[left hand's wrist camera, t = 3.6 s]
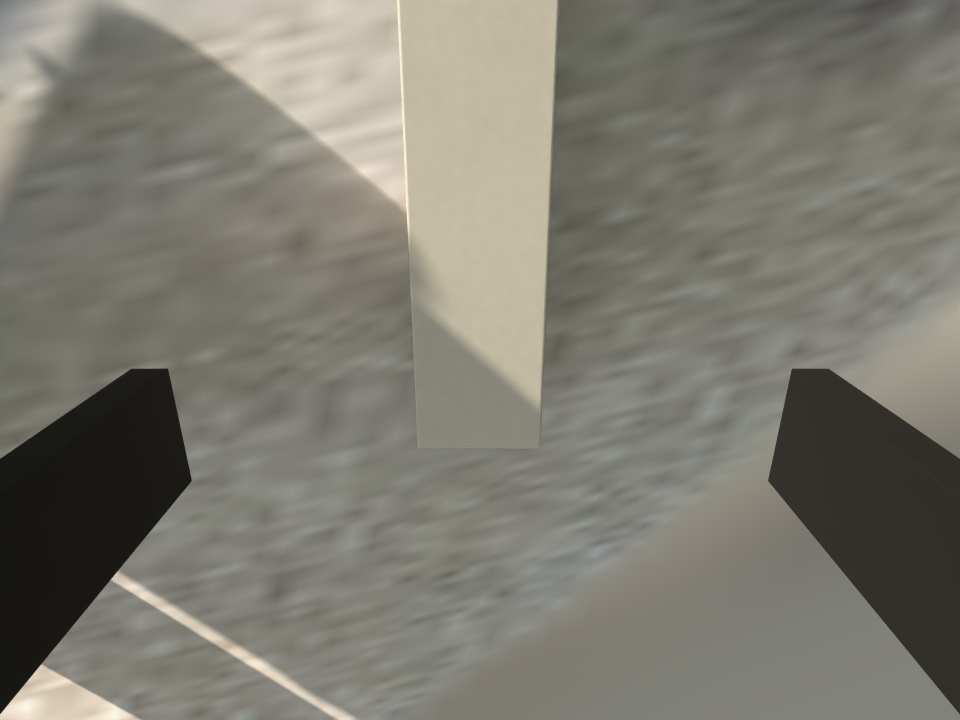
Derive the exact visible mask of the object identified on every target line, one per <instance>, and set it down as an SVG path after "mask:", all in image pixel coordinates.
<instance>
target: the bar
mask: <svg viewBox="0 0 960 720" xmlns="http://www.w3.org/2000/svg"><path fill="white" fill-rule="evenodd" d="M559 2H560V0H397V5H398V28H399V50H400V72H401V94H402V116H403V139H404V161H405V183H406V205H407V227H408V250H409V272H410V294H411V316H412V338H413V361H414V383H415V405H416V427H417V446H418V448H419V449H538V448H540V441H541V417H542V394H543V371H544V348H545V325H546V302H547V279H548V256H549V233H550V210H551V187H552V163H553V140H554V117H555V94H556V71H557V48H558V25H559Z"/></svg>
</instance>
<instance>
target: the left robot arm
mask: <svg viewBox="0 0 960 720" xmlns="http://www.w3.org/2000/svg"><path fill="white" fill-rule="evenodd" d="M191 481H192V480H191V475H190V470H189V465H188V461H187V456H186V451H185V447H184V442H183V437H182V432H181V428H180V423H179V418H178V414H177V409H176V404H175V400H174V395H173V390H172V385H171V381H170V376H169V371H168V369H131V370H129V371H128V372H126V373H125V374H123V375H122V376H120V377H119V378H117V379H116V380H115V381H113V382H112V383H110V384H109V385H107V386H106V387H104V388H103V389H101V390H100V391H98V392H97V393H96V394H94V395H93V396H91V397H90V398H88V399H87V400H85V401H84V402H82V403H81V404H80V405H78V406H77V407H75V408H74V409H72V410H71V411H69V412H68V413H66V414H65V415H64V416H62V417H61V418H59V419H58V420H56V421H55V422H53V423H52V424H50V425H49V426H47V427H46V428H45V429H43V430H42V431H40V432H39V433H37V434H36V435H34V436H33V437H31V438H30V439H29V440H27V441H26V442H24V443H23V444H21V445H20V446H18V447H17V448H15V449H14V450H12V451H11V452H10V453H8V454H7V455H5V456H4V457H2V458H1V459H0V714H1V712H2V711H3V710H4V709H5V708H6V706H7V705H8V704H9V703H10V702H11V700H12V699H13V698H14V697H15V695H16V694H17V693H18V692H19V691H20V689H21V688H22V687H23V686H24V684H25V683H26V682H27V681H28V680H29V678H30V677H31V676H32V675H33V674H34V672H35V671H36V670H37V669H38V667H39V666H40V665H41V664H42V663H43V661H44V660H45V659H46V658H47V656H48V655H49V654H50V653H51V652H52V650H53V649H54V648H55V647H56V646H57V644H58V643H59V642H60V641H61V639H62V638H63V637H64V636H65V635H66V633H67V632H68V631H69V630H70V628H71V627H72V626H73V625H74V624H75V622H76V621H77V620H78V619H79V617H80V616H81V615H82V614H83V613H84V611H85V610H86V609H87V608H88V607H89V605H90V604H91V603H92V602H93V600H94V599H95V598H96V597H97V596H98V594H99V593H100V592H101V591H102V589H103V588H104V587H105V586H106V585H107V583H108V582H109V581H110V580H111V579H112V577H113V576H114V575H115V574H116V572H117V571H118V570H119V569H120V568H121V566H122V565H123V564H124V563H125V561H126V560H127V559H128V558H129V557H130V555H131V554H132V553H133V552H134V551H135V549H136V548H137V547H138V546H139V544H140V543H141V542H142V541H143V540H144V538H145V537H146V536H147V535H148V533H149V532H150V531H151V530H152V529H153V527H154V526H155V525H156V524H157V523H158V521H159V520H160V519H161V518H162V516H163V515H164V514H165V513H166V512H167V510H168V509H169V508H170V507H171V505H172V504H173V503H174V502H175V501H176V499H177V498H178V497H179V496H180V494H181V493H182V492H183V491H184V490H185V488H186V487H187V486H188V485H189V484H190V482H191ZM768 481H769V482H770V484H771V485H772V486H773V487H774V488H775V490H776V491H777V492H778V493H779V494H780V496H781V497H782V498H783V499H784V500H785V502H786V503H787V504H788V505H789V507H790V508H791V509H792V510H793V512H794V513H795V514H796V515H797V516H798V518H799V519H800V520H801V521H802V523H803V524H804V525H805V526H806V527H807V529H808V530H809V531H810V532H811V533H812V535H813V536H814V537H815V538H816V540H817V541H818V542H819V543H820V544H821V546H822V547H823V548H824V549H825V551H826V552H827V553H828V554H829V555H830V557H831V558H832V559H833V560H834V561H835V563H836V564H837V565H838V566H839V568H840V569H841V570H842V571H843V572H844V574H845V575H846V576H847V577H848V578H849V580H850V581H851V582H852V583H853V585H854V586H855V587H856V588H857V589H858V591H859V592H860V593H861V594H862V596H863V597H864V598H865V599H866V600H867V602H868V603H869V604H870V605H871V607H872V608H873V609H874V610H875V611H876V613H877V614H878V615H879V616H880V617H881V619H882V620H883V621H884V622H885V624H886V625H887V626H888V627H889V628H890V630H891V631H892V632H893V633H894V634H895V636H896V637H897V638H898V639H899V641H900V642H901V643H902V644H903V645H904V647H905V648H906V649H907V650H908V651H909V653H910V654H911V655H912V656H913V658H914V659H915V660H916V661H917V663H918V664H919V665H920V666H921V667H922V669H923V670H924V671H925V672H926V674H927V675H928V676H929V677H930V678H931V680H932V681H933V682H934V683H935V684H936V686H937V687H938V688H939V689H940V691H941V692H942V693H943V694H944V695H945V697H946V698H947V699H948V700H949V701H950V703H951V704H952V705H953V706H954V708H955V709H956V710H957V711H958V712H959V714H960V459H959V458H958V457H956V456H955V455H953V454H952V453H950V452H949V451H948V450H946V449H945V448H943V447H942V446H940V445H939V444H937V443H936V442H934V441H933V440H931V439H930V438H929V437H927V436H926V435H924V434H923V433H921V432H920V431H918V430H917V429H915V428H914V427H912V426H911V425H910V424H908V423H907V422H905V421H904V420H902V419H901V418H899V417H898V416H896V415H895V414H894V413H892V412H891V411H889V410H888V409H886V408H885V407H883V406H882V405H880V404H879V403H878V402H876V401H875V400H873V399H872V398H870V397H869V396H867V395H866V394H864V393H863V392H862V391H860V390H859V389H857V388H856V387H854V386H853V385H851V384H850V383H848V382H847V381H845V380H844V379H843V378H841V377H840V376H838V375H837V374H835V373H834V372H832V371H831V370H829V369H792V371H791V376H790V381H789V385H788V390H787V395H786V400H785V404H784V409H783V414H782V418H781V423H780V428H779V432H778V437H777V442H776V447H775V451H774V456H773V461H772V465H771V470H770V475H769V480H768Z"/></svg>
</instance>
